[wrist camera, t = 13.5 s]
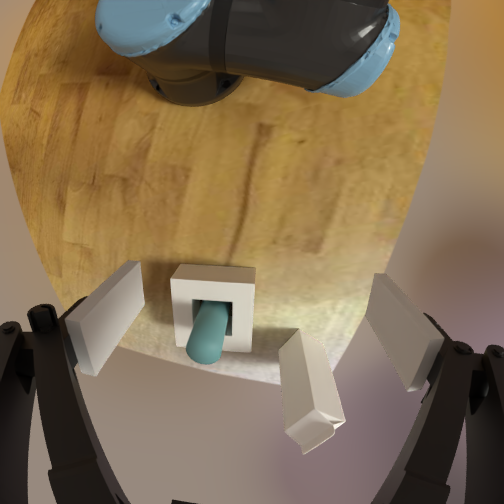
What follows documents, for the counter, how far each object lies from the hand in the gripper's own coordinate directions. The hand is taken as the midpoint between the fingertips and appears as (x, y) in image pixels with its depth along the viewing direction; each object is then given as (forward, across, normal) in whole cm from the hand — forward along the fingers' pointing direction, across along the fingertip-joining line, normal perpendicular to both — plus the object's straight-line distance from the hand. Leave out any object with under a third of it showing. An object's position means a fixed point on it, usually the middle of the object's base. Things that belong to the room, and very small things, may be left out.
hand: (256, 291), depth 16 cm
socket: (+29, -6, -16) cm, 33 cm away
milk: (+29, +9, -25) cm, 39 cm away
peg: (+29, -6, -16) cm, 33 cm away
